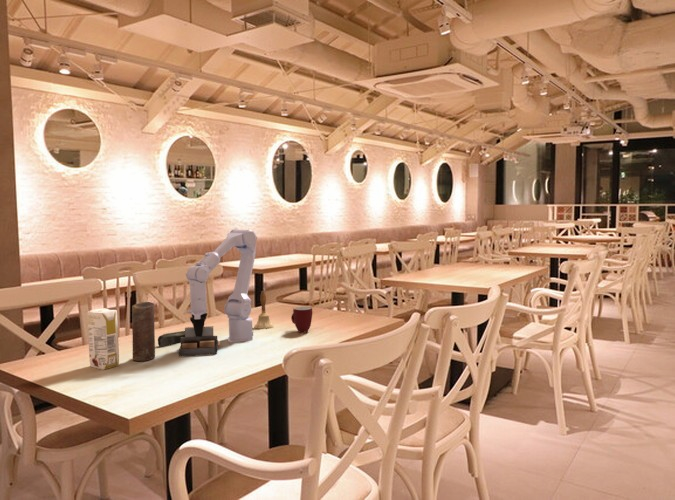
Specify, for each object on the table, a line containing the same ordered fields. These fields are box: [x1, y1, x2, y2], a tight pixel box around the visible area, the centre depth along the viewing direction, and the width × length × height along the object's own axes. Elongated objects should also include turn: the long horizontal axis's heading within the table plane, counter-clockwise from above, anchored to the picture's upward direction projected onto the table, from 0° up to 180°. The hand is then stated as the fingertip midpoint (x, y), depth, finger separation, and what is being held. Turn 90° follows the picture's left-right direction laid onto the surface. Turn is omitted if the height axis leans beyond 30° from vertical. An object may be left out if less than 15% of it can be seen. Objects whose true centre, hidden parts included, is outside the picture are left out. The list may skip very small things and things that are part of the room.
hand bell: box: [253, 290, 274, 330], centre depth 235 cm, size 8×8×16 cm
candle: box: [131, 301, 156, 363], centre depth 184 cm, size 8×7×20 cm
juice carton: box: [87, 307, 120, 371], centre depth 178 cm, size 8×9×19 cm
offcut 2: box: [200, 340, 214, 348], centre depth 192 cm, size 5×2×4 cm, turn 100°
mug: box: [291, 305, 313, 334], centre depth 226 cm, size 11×8×10 cm
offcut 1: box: [182, 343, 197, 349], centre depth 191 cm, size 5×2×4 cm, turn 100°
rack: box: [178, 335, 219, 357], centre depth 194 cm, size 13×11×6 cm
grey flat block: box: [184, 325, 215, 337], centre depth 197 cm, size 10×2×8 cm, turn 100°
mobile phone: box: [156, 330, 185, 349], centre depth 205 cm, size 5×3×15 cm
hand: (199, 334), depth 197 cm, fingers open, 4 cm apart
